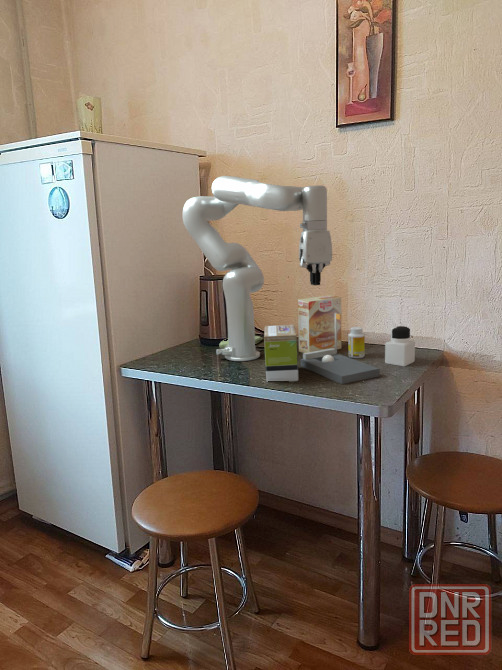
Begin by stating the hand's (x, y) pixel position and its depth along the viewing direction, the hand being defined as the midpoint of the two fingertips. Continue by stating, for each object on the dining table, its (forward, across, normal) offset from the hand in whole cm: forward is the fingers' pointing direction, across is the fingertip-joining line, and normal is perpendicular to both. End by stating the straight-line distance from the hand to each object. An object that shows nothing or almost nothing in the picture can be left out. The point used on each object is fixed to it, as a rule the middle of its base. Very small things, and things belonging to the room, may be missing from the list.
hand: (315, 284), depth 169 cm
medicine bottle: (+27, +24, -13) cm, 38 cm away
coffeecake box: (+27, +12, +16) cm, 34 cm away
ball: (+25, +2, -4) cm, 25 cm away
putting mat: (+27, +2, -10) cm, 28 cm away
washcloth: (+28, -8, +42) cm, 51 cm away
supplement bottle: (+27, +17, +1) cm, 32 cm away
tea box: (+27, -15, -3) cm, 31 cm away
